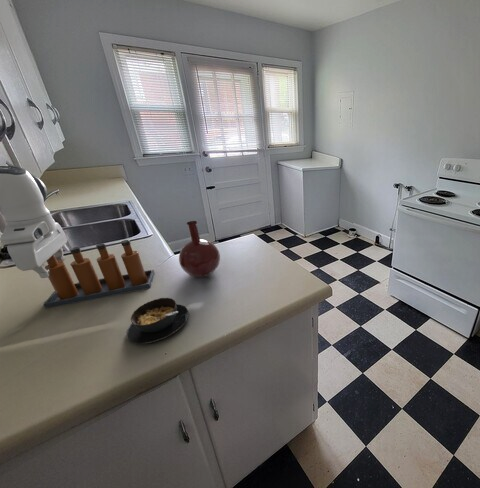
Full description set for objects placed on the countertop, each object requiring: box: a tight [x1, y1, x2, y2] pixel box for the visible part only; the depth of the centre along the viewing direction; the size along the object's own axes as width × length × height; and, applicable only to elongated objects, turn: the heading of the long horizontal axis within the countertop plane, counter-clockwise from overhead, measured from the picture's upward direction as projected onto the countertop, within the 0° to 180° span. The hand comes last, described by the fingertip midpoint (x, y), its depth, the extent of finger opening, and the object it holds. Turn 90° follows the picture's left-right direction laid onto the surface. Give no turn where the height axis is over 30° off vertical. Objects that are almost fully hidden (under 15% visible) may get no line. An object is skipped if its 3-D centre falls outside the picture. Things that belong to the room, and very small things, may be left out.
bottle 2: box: [95, 242, 125, 290], centre depth 87 cm, size 5×5×16 cm
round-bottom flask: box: [178, 220, 221, 278], centre depth 94 cm, size 13×13×20 cm
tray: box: [42, 269, 156, 309], centre depth 89 cm, size 27×10×2 cm, turn 113°
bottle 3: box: [120, 239, 148, 286], centre depth 89 cm, size 5×5×16 cm
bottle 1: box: [69, 246, 102, 295], centre depth 84 cm, size 5×5×16 cm
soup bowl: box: [126, 297, 190, 345], centre depth 71 cm, size 15×16×7 cm
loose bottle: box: [44, 255, 78, 300], centre depth 82 cm, size 5×5×16 cm
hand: (53, 269), depth 81 cm, fingers open, 8 cm apart
